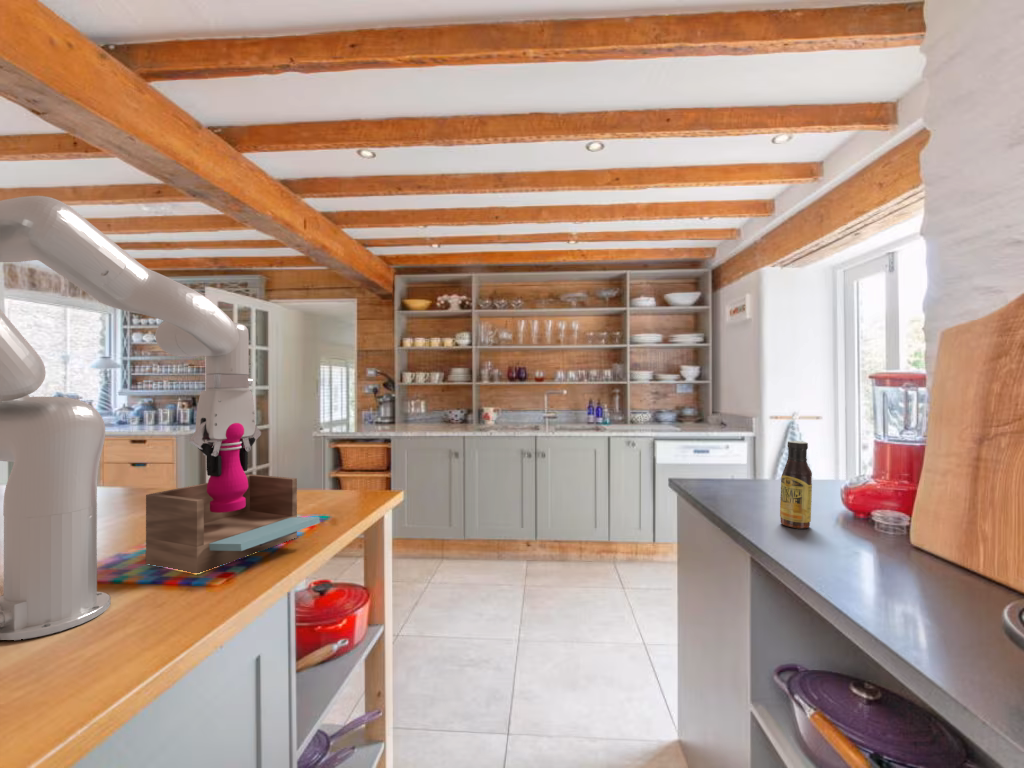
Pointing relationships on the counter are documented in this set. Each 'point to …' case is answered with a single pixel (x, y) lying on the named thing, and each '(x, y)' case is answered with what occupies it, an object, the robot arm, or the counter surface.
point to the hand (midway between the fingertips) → (227, 472)
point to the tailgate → (264, 534)
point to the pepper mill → (229, 475)
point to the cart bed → (212, 522)
